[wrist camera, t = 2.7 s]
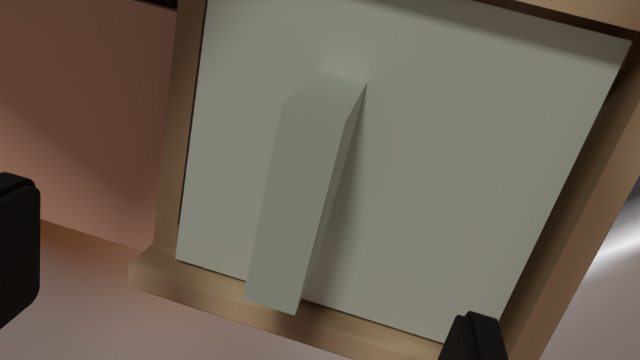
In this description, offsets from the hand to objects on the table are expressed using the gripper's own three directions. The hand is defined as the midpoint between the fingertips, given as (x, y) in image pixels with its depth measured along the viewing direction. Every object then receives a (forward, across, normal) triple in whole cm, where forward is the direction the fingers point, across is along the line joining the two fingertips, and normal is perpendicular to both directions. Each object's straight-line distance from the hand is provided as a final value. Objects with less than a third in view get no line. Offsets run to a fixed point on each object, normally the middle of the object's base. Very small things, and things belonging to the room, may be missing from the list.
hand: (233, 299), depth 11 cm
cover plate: (+9, -2, -1) cm, 9 cm away
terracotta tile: (+12, +13, +2) cm, 18 cm away
